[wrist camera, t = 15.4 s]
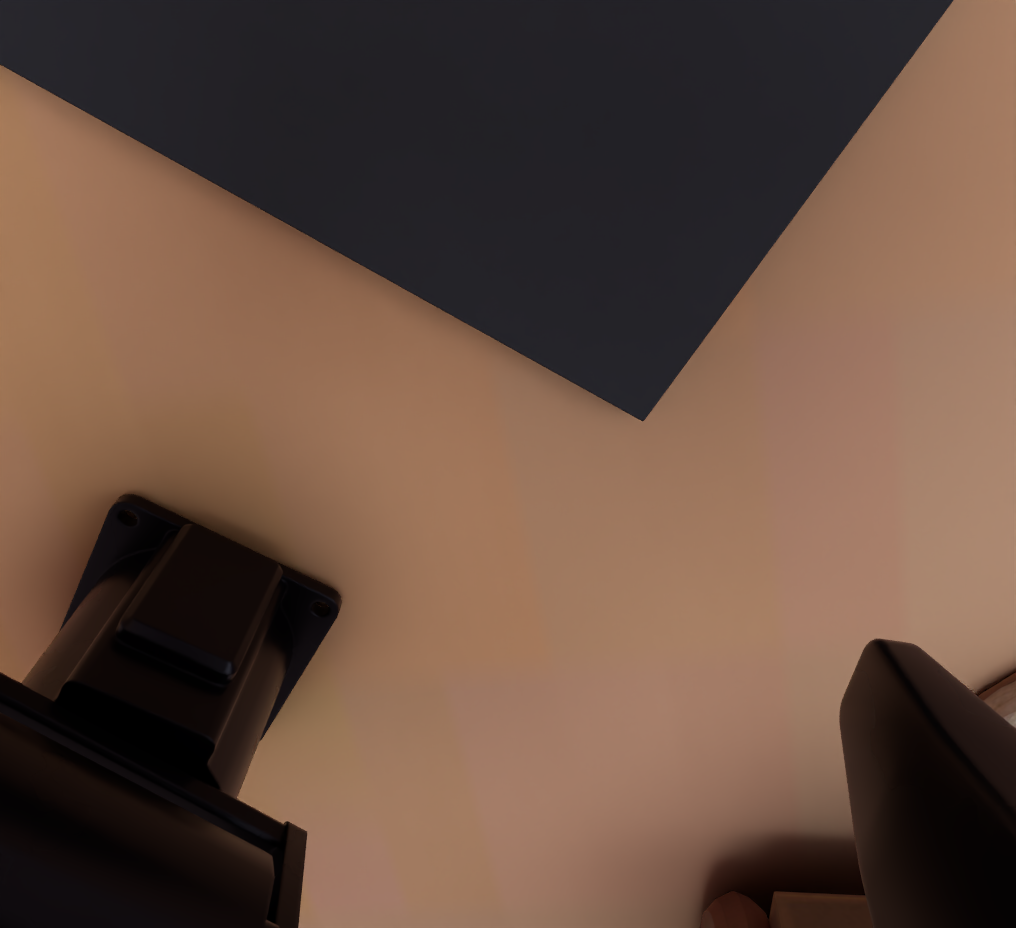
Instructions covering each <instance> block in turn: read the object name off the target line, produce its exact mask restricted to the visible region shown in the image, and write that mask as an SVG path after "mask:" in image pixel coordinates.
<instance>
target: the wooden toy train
mask: <svg viewBox="0 0 1016 928" xmlns="http://www.w3.org/2000/svg"><path fill="white" fill-rule="evenodd" d="M700 928H873V924H872V920H871V916H870V912H869V908H868V904H867V900H866V896H865V895H843V894H821V893H799V892H776V891H774V895H773V900H772V905H771V911H770V916H769V921H768V918H767V916H766V913H765V912H764V911H763V910H762V909H761V908H760V907H759V906H758V905H757V904H756V903H755V902H754V901H752V900H751V899H750V898H749V897H747V896H744V895H742V894H739V893H737V892H735V891H731V892H729V893H727V894H725V895H723V896H721V897H718V898H716V899H715V900H714V901H713V903H712V904H711V905H710V906H709V907H708V908H707V909H706V910H705V912H704V913H703V916H702V921H701V926H700Z"/></svg>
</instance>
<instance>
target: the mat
mask: <svg viewBox="0 0 1016 928" xmlns="http://www.w3.org/2000/svg"><path fill="white" fill-rule="evenodd" d="M952 2H953V0H0V65H2V66H4V67H6V68H8V69H9V70H11V71H13V72H15V73H17V74H18V75H20V76H22V77H24V78H26V79H27V80H29V81H31V82H33V83H35V84H36V85H38V86H40V87H42V88H44V89H45V90H47V91H49V92H51V93H53V94H54V95H56V96H58V97H60V98H62V99H63V100H65V101H67V102H69V103H71V104H72V105H74V106H76V107H78V108H80V109H81V110H83V111H85V112H87V113H89V114H90V115H92V116H94V117H96V118H98V119H99V120H101V121H103V122H105V123H107V124H108V125H110V126H112V127H114V128H116V129H117V130H119V131H121V132H123V133H125V134H126V135H128V136H130V137H132V138H134V139H135V140H137V141H139V142H141V143H143V144H144V145H146V146H148V147H150V148H152V149H153V150H155V151H157V152H159V153H161V154H162V155H164V156H166V157H168V158H170V159H171V160H173V161H175V162H177V163H179V164H180V165H182V166H184V167H186V168H188V169H189V170H191V171H193V172H195V173H197V174H198V175H200V176H202V177H204V178H206V179H207V180H209V181H211V182H213V183H215V184H216V185H218V186H220V187H222V188H224V189H225V190H227V191H229V192H231V193H233V194H234V195H236V196H238V197H240V198H242V199H243V200H245V201H247V202H249V203H251V204H252V205H254V206H256V207H258V208H260V209H261V210H263V211H265V212H267V213H269V214H270V215H272V216H274V217H276V218H278V219H279V220H281V221H283V222H285V223H287V224H288V225H290V226H292V227H294V228H296V229H297V230H299V231H301V232H303V233H305V234H306V235H308V236H310V237H312V238H314V239H315V240H317V241H319V242H321V243H323V244H324V245H326V246H328V247H330V248H332V249H333V250H335V251H337V252H339V253H341V254H342V255H344V256H346V257H348V258H350V259H351V260H353V261H355V262H357V263H359V264H360V265H362V266H364V267H366V268H368V269H369V270H371V271H373V272H375V273H377V274H378V275H380V276H382V277H384V278H386V279H387V280H389V281H391V282H393V283H395V284H396V285H398V286H400V287H402V288H404V289H405V290H407V291H409V292H411V293H413V294H414V295H416V296H418V297H420V298H422V299H423V300H425V301H427V302H429V303H431V304H432V305H434V306H436V307H438V308H440V309H441V310H443V311H445V312H447V313H449V314H450V315H452V316H454V317H456V318H458V319H459V320H461V321H463V322H465V323H467V324H468V325H470V326H472V327H474V328H476V329H477V330H479V331H481V332H483V333H485V334H486V335H488V336H490V337H492V338H494V339H495V340H497V341H499V342H501V343H503V344H504V345H506V346H508V347H510V348H512V349H513V350H515V351H517V352H519V353H521V354H522V355H524V356H526V357H528V358H530V359H531V360H533V361H535V362H537V363H539V364H540V365H542V366H544V367H546V368H548V369H549V370H551V371H553V372H555V373H557V374H558V375H560V376H562V377H564V378H566V379H567V380H569V381H571V382H573V383H575V384H576V385H578V386H580V387H582V388H584V389H585V390H587V391H589V392H591V393H593V394H594V395H596V396H598V397H600V398H602V399H603V400H605V401H607V402H609V403H611V404H612V405H614V406H616V407H618V408H620V409H621V410H623V411H625V412H627V413H629V414H630V415H632V416H634V417H636V418H638V419H639V420H641V421H644V420H645V419H646V417H647V416H648V414H649V413H650V412H651V410H652V409H653V408H654V406H655V405H656V404H657V402H658V401H659V400H660V398H661V397H662V395H663V394H664V393H665V391H666V390H667V389H668V387H669V386H670V385H671V383H672V382H673V381H674V379H675V378H676V376H677V375H678V374H679V372H680V371H681V370H682V368H683V367H684V366H685V364H686V363H687V362H688V360H689V359H690V357H691V356H692V355H693V353H694V352H695V351H696V349H697V348H698V347H699V345H700V344H701V343H702V341H703V340H704V338H705V337H706V336H707V334H708V333H709V332H710V330H711V329H712V328H713V326H714V325H715V323H716V322H717V321H718V319H719V318H720V317H721V315H722V314H723V313H724V311H725V310H726V309H727V307H728V306H729V304H730V303H731V302H732V300H733V299H734V298H735V296H736V295H737V294H738V292H739V291H740V290H741V288H742V287H743V285H744V284H745V283H746V281H747V280H748V279H749V277H750V276H751V275H752V273H753V272H754V271H755V269H756V268H757V266H758V265H759V264H760V262H761V261H762V260H763V258H764V257H765V256H766V254H767V253H768V252H769V250H770V249H771V247H772V246H773V245H774V243H775V242H776V241H777V239H778V238H779V237H780V235H781V234H782V232H783V231H784V230H785V228H786V227H787V226H788V224H789V223H790V222H791V220H792V219H793V218H794V216H795V215H796V213H797V212H798V211H799V209H800V208H801V207H802V205H803V204H804V203H805V201H806V200H807V199H808V197H809V196H810V194H811V193H812V192H813V190H814V189H815V188H816V186H817V185H818V184H819V182H820V181H821V180H822V178H823V177H824V175H825V174H826V173H827V171H828V170H829V169H830V167H831V166H832V165H833V163H834V162H835V161H836V159H837V158H838V156H839V155H840V154H841V152H842V151H843V150H844V148H845V147H846V146H847V144H848V143H849V141H850V140H851V139H852V137H853V136H854V135H855V133H856V132H857V131H858V129H859V128H860V127H861V125H862V124H863V122H864V121H865V120H866V118H867V117H868V116H869V114H870V113H871V112H872V110H873V109H874V108H875V106H876V105H877V103H878V102H879V101H880V99H881V98H882V97H883V95H884V94H885V93H886V91H887V90H888V89H889V87H890V86H891V84H892V83H893V82H894V80H895V79H896V78H897V76H898V75H899V74H900V72H901V71H902V70H903V68H904V67H905V65H906V64H907V63H908V61H909V60H910V59H911V57H912V56H913V55H914V53H915V52H916V50H917V49H918V48H919V46H920V45H921V44H922V42H923V41H924V40H925V38H926V37H927V36H928V34H929V33H930V31H931V30H932V29H933V27H934V26H935V25H936V23H937V22H938V21H939V19H940V18H941V17H942V15H943V14H944V12H945V11H946V10H947V8H948V7H949V6H950V4H951V3H952Z"/></svg>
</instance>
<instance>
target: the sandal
mask: <svg viewBox="0 0 1016 928" xmlns="http://www.w3.org/2000/svg"><path fill="white" fill-rule="evenodd" d="M978 697H979V698H980V699H981V700H983V701H984V702H985V703H986V704H987V705H989V706H990V707H991V708H992V709H993V710H995V711H996V712H997V713H998V714H999V715H1000V716H1002V717H1003V718H1004V719H1005V720H1006V721H1008V722H1009V723H1010V724H1011V725H1012V726H1014V727H1015V728H1016V672H1015V673H1014V674H1012V675H1011V676H1009V677H1007V678H1006V679H1004V680H1003V681H1001V682H999V683H998V684H996V685H995V686H993V687H991V688H990V689H988V690H987V691H985V692H983V693H982V694H980V695H979V696H978Z"/></svg>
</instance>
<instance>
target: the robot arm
mask: <svg viewBox="0 0 1016 928" xmlns="http://www.w3.org/2000/svg"><path fill="white" fill-rule="evenodd" d="M125 510H127V511H131V512H132V513H134V514H135V515H136V517H137V519H136V518H132V517H130V516H129V515H127V513H126V512H125ZM316 602H323V603H325V604H327V605H328V607H321V606H319V605H318V604H316ZM341 604H342V600H341V596H340V595H339V594H338V592H337V591H335V590H334V589H333V588H331V587H329V586H327V585H325V584H323V583H321V582H318V581H316V580H314V579H312V578H310V577H308V576H306V575H304V574H302V573H300V572H297V571H295V570H293V569H291V568H289V567H287V566H285V565H283V564H281V563H279V562H276V561H274V560H272V559H270V558H268V557H266V556H264V555H262V554H260V553H258V552H255V551H253V550H251V549H249V548H247V547H245V546H243V545H241V544H239V543H237V542H235V541H232V540H230V539H228V538H226V537H224V536H222V535H220V534H218V533H216V532H214V531H211V530H209V529H207V528H205V527H203V526H201V525H199V524H197V523H195V522H193V521H190V520H188V519H186V518H184V517H182V516H180V515H178V514H176V513H174V512H172V511H169V510H167V509H165V508H163V507H161V506H159V505H157V504H155V503H153V502H151V501H148V500H146V499H144V498H142V497H140V496H137V495H134V494H125V495H123V496H121V497H119V499H118V500H117V501H116V502H115V503H114V505H113V506H112V507H111V509H110V510H109V512H108V515H107V517H106V519H105V522H104V524H103V527H102V529H101V532H100V534H99V536H98V539H97V541H96V544H95V546H94V549H93V551H92V553H91V556H90V558H89V561H88V563H87V566H86V568H85V570H84V573H83V575H82V578H81V580H80V583H79V585H78V588H77V590H76V592H75V595H74V597H73V600H72V602H71V605H70V607H69V609H68V612H67V614H66V617H65V619H64V622H63V624H62V626H61V629H60V631H59V633H58V635H57V636H56V637H55V639H54V640H53V641H52V643H51V644H50V645H49V647H48V648H47V649H46V651H45V652H44V653H43V655H42V656H41V657H40V659H39V660H38V661H37V663H36V664H35V665H34V667H33V668H32V669H31V671H30V672H29V673H28V675H27V676H26V677H25V679H24V680H23V681H22V683H20V682H18V681H16V680H14V679H12V678H10V677H8V676H6V675H5V674H3V673H1V672H0V928H298V924H299V914H300V903H301V893H302V882H303V872H304V861H305V851H306V840H307V831H305V830H303V829H301V828H299V827H297V826H295V825H294V824H292V823H290V822H288V821H286V822H285V823H284V824H283V823H281V822H279V821H277V820H275V819H273V818H271V817H269V816H268V815H266V814H264V813H262V812H260V811H258V810H256V809H255V808H253V807H251V806H249V805H247V804H245V803H243V802H242V801H240V800H238V799H237V796H238V794H239V791H240V789H241V786H242V784H243V781H244V779H245V776H246V774H247V771H248V768H249V766H250V763H251V761H252V758H253V756H254V753H255V751H256V748H257V746H258V743H259V741H260V740H261V739H262V738H263V737H264V735H265V733H266V732H267V730H268V728H269V727H270V725H271V724H272V722H273V720H274V719H275V717H276V715H277V714H278V712H279V711H280V709H281V707H282V706H283V704H284V702H285V701H286V699H287V698H288V696H289V694H290V693H291V691H292V689H293V688H294V686H295V685H296V683H297V681H298V680H299V678H300V676H301V675H302V673H303V672H304V670H305V668H306V667H307V665H308V663H309V662H310V660H311V658H312V657H313V655H314V654H315V652H316V650H317V649H318V647H319V645H320V644H321V642H322V641H323V639H324V637H325V636H326V634H327V632H328V631H329V629H330V628H331V626H332V624H333V623H334V621H335V619H336V618H337V616H338V613H339V610H340V607H341ZM840 730H841V738H842V745H843V753H844V760H845V768H846V775H847V783H848V790H849V798H850V805H851V813H852V820H853V828H854V835H855V843H856V850H857V856H858V862H859V868H860V873H861V878H862V882H863V887H864V891H865V896H866V900H867V904H868V908H869V912H870V916H871V920H872V924H873V928H1016V728H1015V727H1014V726H1012V725H1011V724H1010V723H1009V722H1008V721H1006V720H1005V719H1004V718H1003V717H1002V716H1000V715H999V714H998V713H997V712H996V711H995V710H993V709H992V708H991V707H990V706H989V705H987V704H986V703H985V702H984V701H983V700H981V699H980V698H979V697H978V696H977V695H976V694H974V693H973V692H972V691H971V690H970V689H968V688H967V687H966V686H965V685H964V684H962V683H961V682H960V681H959V680H958V679H956V678H955V677H954V676H953V675H952V674H951V673H949V672H948V671H947V670H946V669H945V668H943V667H942V666H941V665H940V664H939V663H937V662H936V661H935V660H934V659H933V658H931V657H930V656H929V655H928V654H927V653H926V652H924V651H923V650H922V649H921V648H919V647H918V646H916V645H914V644H911V643H906V642H899V641H892V640H885V639H874V640H872V641H870V642H869V643H868V644H867V645H866V647H865V648H864V650H863V652H862V654H861V657H860V659H859V661H858V664H857V666H856V668H855V671H854V673H853V675H852V678H851V680H850V682H849V685H848V687H847V689H846V692H845V694H844V697H843V699H842V703H841V707H840Z"/></svg>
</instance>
